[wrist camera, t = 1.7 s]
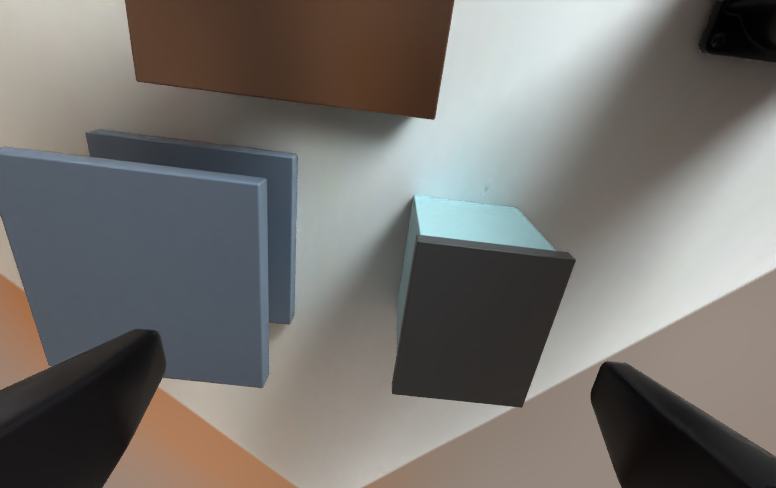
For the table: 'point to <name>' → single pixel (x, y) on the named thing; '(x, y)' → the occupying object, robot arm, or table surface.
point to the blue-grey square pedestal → (156, 248)
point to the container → (474, 302)
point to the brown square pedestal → (298, 50)
